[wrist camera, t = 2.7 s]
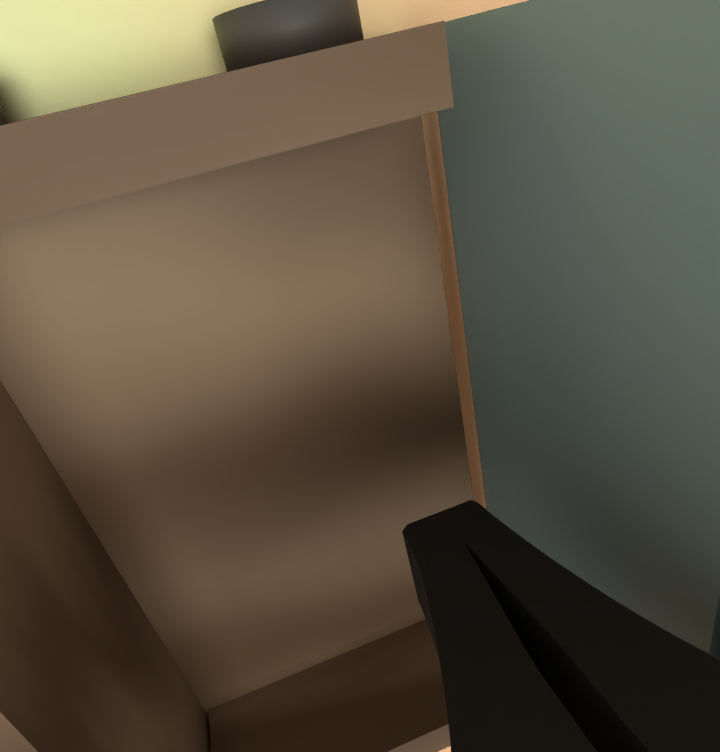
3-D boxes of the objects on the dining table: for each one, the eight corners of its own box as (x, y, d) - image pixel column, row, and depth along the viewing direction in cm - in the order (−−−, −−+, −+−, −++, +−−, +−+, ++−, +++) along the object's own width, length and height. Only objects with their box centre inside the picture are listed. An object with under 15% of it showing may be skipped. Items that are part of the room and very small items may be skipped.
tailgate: (521, 603, 18) (728, 905, 11) (499, 613, 18) (695, 924, 11) (469, 16, 10) (1075, -137, 3) (427, 26, 10) (971, -115, 3)
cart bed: (470, 594, 19) (590, 797, 14) (184, 712, 18) (191, 995, 12) (373, -10, 11) (597, -124, 5) (-204, 118, 9) (-803, 157, 3)
